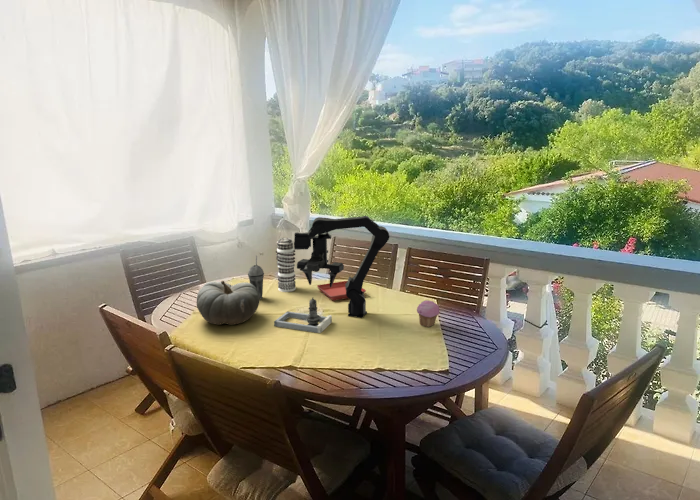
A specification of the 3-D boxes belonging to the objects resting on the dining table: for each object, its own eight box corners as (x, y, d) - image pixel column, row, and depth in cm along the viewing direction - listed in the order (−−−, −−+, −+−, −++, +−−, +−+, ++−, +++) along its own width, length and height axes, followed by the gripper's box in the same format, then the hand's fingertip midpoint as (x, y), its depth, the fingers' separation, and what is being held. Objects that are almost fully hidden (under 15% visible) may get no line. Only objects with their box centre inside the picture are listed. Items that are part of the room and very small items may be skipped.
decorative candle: (295, 292, 234) (293, 241, 228) (276, 292, 234) (273, 241, 228) (297, 286, 243) (296, 236, 236) (278, 286, 243) (276, 236, 237)
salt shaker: (318, 321, 199) (318, 293, 196) (322, 327, 194) (322, 298, 191) (304, 323, 197) (303, 295, 194) (308, 329, 192) (307, 300, 189)
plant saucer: (316, 291, 236) (316, 284, 235) (350, 286, 244) (350, 279, 243) (330, 303, 220) (330, 296, 220) (366, 297, 228) (366, 290, 227)
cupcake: (425, 319, 202) (426, 296, 199) (443, 325, 196) (444, 301, 193) (412, 325, 196) (412, 301, 193) (429, 331, 190) (430, 307, 187)
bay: (331, 322, 199) (331, 315, 198) (320, 333, 188) (320, 325, 188) (287, 315, 205) (287, 309, 205) (274, 326, 195) (273, 319, 194)
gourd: (191, 306, 209) (195, 268, 204) (249, 307, 219) (255, 271, 215) (198, 334, 187) (203, 293, 182) (262, 334, 198) (268, 294, 193)
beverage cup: (246, 299, 224) (243, 257, 219) (254, 294, 231) (252, 253, 226) (259, 301, 222) (257, 259, 217) (268, 296, 228) (266, 255, 223)
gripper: (289, 251, 195) (291, 289, 198) (333, 256, 188) (334, 294, 192) (302, 245, 205) (303, 281, 209) (344, 249, 198) (344, 286, 202)
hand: (320, 285), depth 203 cm, fingers open, 9 cm apart
